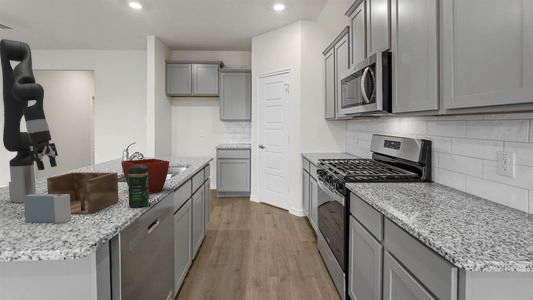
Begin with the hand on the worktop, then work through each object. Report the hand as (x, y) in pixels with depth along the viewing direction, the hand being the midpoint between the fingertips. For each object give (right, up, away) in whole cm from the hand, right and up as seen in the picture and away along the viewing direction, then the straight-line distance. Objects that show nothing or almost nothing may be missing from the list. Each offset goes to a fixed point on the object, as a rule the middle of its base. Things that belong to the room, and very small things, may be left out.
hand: (48, 168), depth 132 cm
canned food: (+31, -17, +20) cm, 41 cm away
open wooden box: (+12, -18, +5) cm, 22 cm away
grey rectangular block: (+10, -19, -14) cm, 26 cm away
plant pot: (+28, -15, +37) cm, 49 cm away
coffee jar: (+36, -18, +8) cm, 41 cm away
